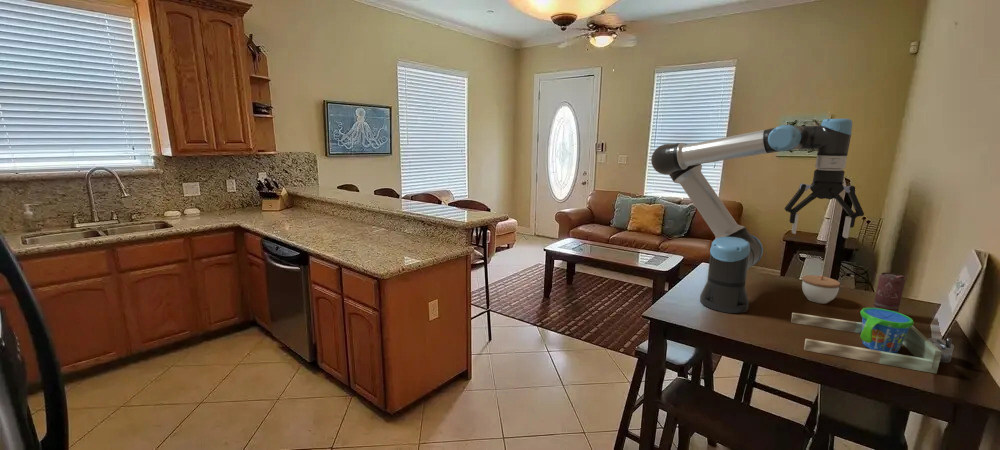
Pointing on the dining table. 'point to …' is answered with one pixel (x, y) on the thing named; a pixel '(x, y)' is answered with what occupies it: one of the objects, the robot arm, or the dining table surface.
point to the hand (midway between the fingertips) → (818, 235)
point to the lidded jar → (819, 288)
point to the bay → (914, 342)
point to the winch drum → (944, 348)
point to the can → (889, 291)
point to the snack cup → (884, 329)
